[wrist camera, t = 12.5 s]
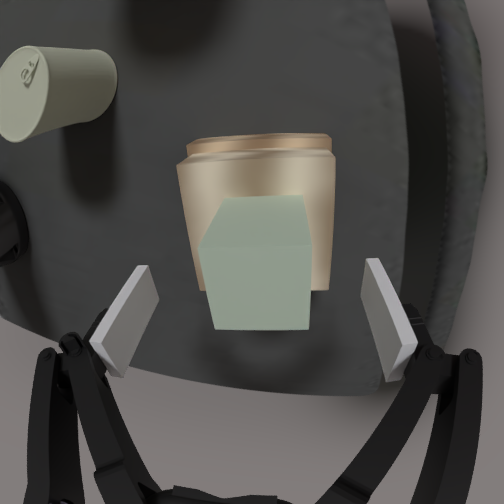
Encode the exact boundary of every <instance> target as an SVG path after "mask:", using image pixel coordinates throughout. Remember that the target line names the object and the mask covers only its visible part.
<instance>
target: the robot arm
mask: <svg viewBox="0 0 504 504" xmlns="http://www.w3.org/2000/svg"><path fill="white" fill-rule="evenodd" d="M27 245H28V230H27V224H26V220H25V217H24V214H23V211H22V208H21V206H20V204H19V202H18V200H17V198H16V197H15V195H14V194H13V192H12V191H11V190H10V188H9V187H8V186H7V185H6V184H4V183H3V182H1V181H0V267H1V266H4V265H7V264H9V263H12V262H14V261H16V260H17V259H18V258H19V257H21V256H22V255H23V254H24V253H25V251H26V249H27ZM360 296H361V299H362V302H363V305H364V308H365V311H366V315H367V318H368V321H369V324H370V327H371V330H372V334H373V337H374V340H375V344H376V347H377V351H378V354H379V358H380V361H381V365H382V369H383V372H384V376H385V380H386V382H391V381H398V380H401V378H402V376H403V374H404V375H405V378H406V380H405V382H404V384H403V386H402V388H401V389H400V391H399V393H398V394H397V396H396V398H395V399H394V401H393V403H392V404H391V406H390V408H389V409H388V411H387V413H386V414H385V416H384V417H383V419H382V420H381V422H380V423H379V425H378V426H377V428H376V429H375V431H374V432H373V434H372V435H371V437H370V438H369V439H368V441H367V442H366V443H365V445H364V446H363V448H362V449H361V450H360V452H359V453H358V454H357V456H356V457H355V458H354V459H353V461H352V462H351V463H350V465H349V466H348V467H347V468H346V470H345V471H344V472H343V473H342V474H341V476H340V477H339V478H338V479H337V480H336V481H335V482H334V484H333V485H332V486H331V487H330V488H329V489H328V490H327V491H326V492H325V494H324V495H323V496H322V497H321V498H320V499H319V500H318V501H317V502H316V503H315V504H367V502H368V501H369V499H370V496H371V495H372V493H373V492H374V490H375V489H376V487H377V486H378V485H379V483H380V482H381V481H382V479H383V478H384V476H385V475H386V473H387V472H388V470H389V469H390V467H391V466H392V464H393V463H394V461H395V460H396V458H397V456H398V455H399V453H400V452H401V450H402V448H403V447H404V445H405V443H406V442H407V440H408V438H409V436H410V435H411V433H412V431H413V429H414V427H415V426H416V424H417V422H418V420H419V418H420V416H421V414H422V412H423V410H424V408H425V406H426V404H427V402H428V400H429V398H430V395H431V394H438V401H437V407H436V413H435V418H434V423H433V428H432V432H431V437H430V441H429V445H428V449H427V453H426V457H425V460H424V464H423V467H422V471H421V474H420V477H419V480H418V483H417V486H416V489H415V492H414V495H413V497H412V500H411V503H410V504H465V503H466V500H467V496H468V492H469V488H470V484H471V480H472V475H473V471H474V465H475V460H476V454H477V448H478V440H479V432H480V423H481V410H482V388H483V368H482V367H483V366H482V357H481V356H480V354H479V353H478V352H477V351H476V350H473V349H465V350H463V351H462V352H461V353H460V355H451V354H445V353H444V351H443V350H442V348H440V347H439V346H437V345H434V344H433V341H432V339H431V337H430V335H429V333H428V331H427V328H426V326H425V324H424V322H423V320H422V318H421V316H420V314H419V312H418V310H417V309H416V308H415V307H414V306H413V305H412V304H411V303H410V304H401V303H400V301H399V299H398V296H397V294H396V292H395V290H394V288H393V286H392V284H391V282H390V280H389V278H388V276H387V274H386V272H385V270H384V268H383V266H382V264H381V262H380V261H379V259H378V258H369V259H366V263H365V270H364V276H363V283H362V289H361V295H360ZM158 301H159V297H158V294H157V291H156V288H155V285H154V282H153V279H152V276H151V273H150V270H149V266H148V265H142V266H137V267H136V269H135V270H134V272H133V273H132V275H131V276H130V278H129V279H128V281H127V282H126V284H125V285H124V287H123V288H122V290H121V291H120V293H119V294H118V296H117V297H116V299H115V300H114V302H113V303H112V305H111V306H110V308H109V309H106V308H105V309H104V310H103V311H102V312H101V313H100V314H99V315H98V316H97V318H96V319H95V322H94V323H93V324H92V327H90V329H89V331H88V332H87V334H86V335H85V337H84V339H83V340H82V339H81V338H80V336H79V334H78V333H76V332H70V333H67V334H66V335H64V336H63V337H62V338H61V339H60V341H59V347H60V348H61V349H62V351H63V353H59V354H57V352H56V351H55V350H54V349H53V348H51V347H50V348H46V349H44V350H43V351H41V352H40V354H39V356H38V359H37V364H36V369H35V375H34V381H33V388H32V395H31V403H30V414H29V424H28V443H27V477H28V485H27V489H26V493H25V498H24V503H23V504H85V499H84V490H83V483H82V475H81V466H80V456H79V443H78V416H77V410H78V414H79V418H80V421H81V425H82V428H83V432H84V435H85V438H86V441H87V444H88V447H89V450H90V453H91V456H92V458H93V461H94V464H95V467H96V471H95V472H94V478H95V481H96V484H97V486H98V489H99V491H100V493H101V495H102V498H103V500H104V502H105V504H292V503H290V502H287V501H284V500H280V499H277V496H264V495H263V496H262V495H247V496H241V497H233V498H225V499H224V498H219V497H216V496H213V495H211V494H208V493H205V492H203V491H200V490H197V489H192V488H186V487H181V486H175V485H174V487H173V489H170V490H164V491H162V490H161V489H160V487H159V486H158V485H157V484H156V482H155V481H154V480H153V479H152V477H151V476H150V474H149V472H148V470H147V469H146V467H145V465H144V463H143V461H142V459H141V457H140V455H139V453H138V452H137V449H136V447H135V445H134V443H133V441H132V439H131V437H130V434H129V432H128V430H127V428H126V426H125V423H124V421H123V419H122V416H121V414H120V412H119V409H118V406H117V404H116V402H115V399H114V397H113V394H112V391H111V388H110V386H109V383H108V380H107V378H106V376H105V372H106V370H108V372H109V373H110V375H111V376H115V377H120V378H123V377H124V374H125V372H126V370H127V368H128V365H129V363H130V361H131V359H132V357H133V354H134V352H135V350H136V348H137V346H138V343H139V341H140V339H141V337H142V335H143V333H144V330H145V328H146V326H147V324H148V322H149V320H150V318H151V316H152V314H153V312H154V310H155V308H156V306H157V303H158Z"/></svg>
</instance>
